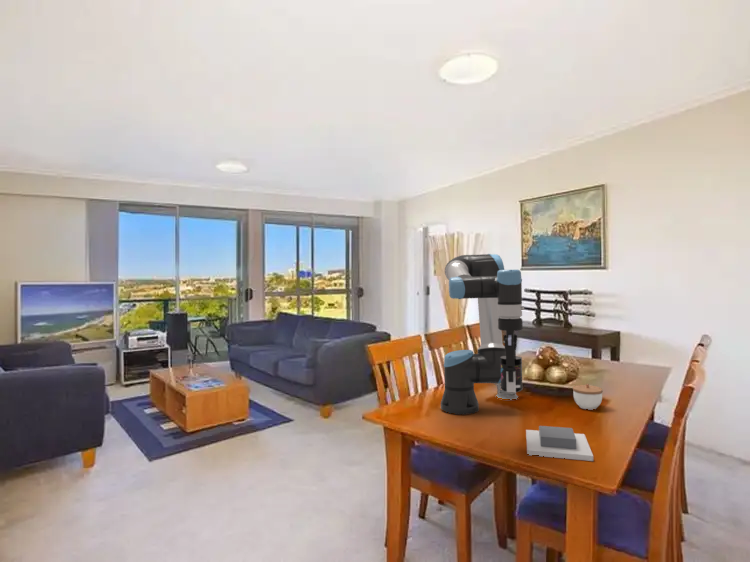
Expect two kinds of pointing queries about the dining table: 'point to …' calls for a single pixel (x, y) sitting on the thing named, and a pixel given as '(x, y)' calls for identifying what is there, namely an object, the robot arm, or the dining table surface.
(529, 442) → the build base
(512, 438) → the dining table surface
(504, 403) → the dining table surface
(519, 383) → the supplement container
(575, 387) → the lidded jar
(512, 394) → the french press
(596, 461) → the dining table surface
